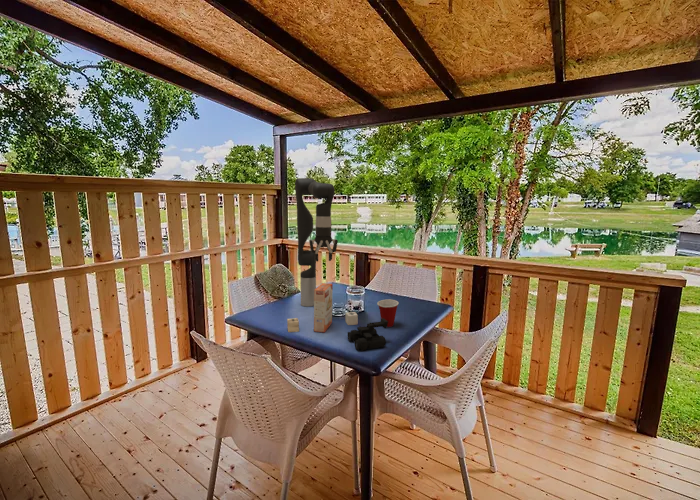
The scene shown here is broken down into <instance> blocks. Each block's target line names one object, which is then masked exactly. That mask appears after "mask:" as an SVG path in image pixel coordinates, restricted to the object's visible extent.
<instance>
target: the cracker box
mask: <svg viewBox="0 0 700 500" xmlns="http://www.w3.org/2000/svg"><path fill="white" fill-rule="evenodd" d="M333 288H334V287H333V283H330V282H328V283H327V282H323V283H321V284H319V285H318V286H316V289H315V290H314V306H313V331H314V332H315V333H316V332H319V333H326V332H327V330H328V329H329V327H330V326H331V325H332V323H333Z"/></svg>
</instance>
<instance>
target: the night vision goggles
mask: <svg viewBox="0 0 700 500" xmlns="http://www.w3.org/2000/svg"><path fill="white" fill-rule="evenodd" d="M387 325H388V321H387V320H385V319H384V318H381V317H380V321H374V322H369V323H367V324H366V326H359V327H357V329H351V330H350V331H348V332H347V340H348V341H349V342H353V343H354V348H355V350H356V351H357V350H358V351H361V352H362V351H367V350H371V349H378V348H385V346H386V344H387V340H386V337H385V336H384V335H380V334H378V331H377V328H383V329H388V327H387Z"/></svg>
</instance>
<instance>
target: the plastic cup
mask: <svg viewBox="0 0 700 500" xmlns="http://www.w3.org/2000/svg"><path fill="white" fill-rule="evenodd" d="M398 305H399V301H397V300H395V299H382V300H379V301H377V306H378V310H379V315H380V319H381V318H384V319H385V320H387V321H388V325H387V328H391V327H394V324H395V319H396V315H397V310H398V307H399V306H398Z"/></svg>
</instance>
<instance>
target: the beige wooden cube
mask: <svg viewBox="0 0 700 500" xmlns="http://www.w3.org/2000/svg"><path fill="white" fill-rule="evenodd" d="M358 316H359V315H358V314H357V312H356V311H349V312H348V311H347V312H345V323H346V324H347V326H354V325H356V326H357V325H358V321H359V319H358Z"/></svg>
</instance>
